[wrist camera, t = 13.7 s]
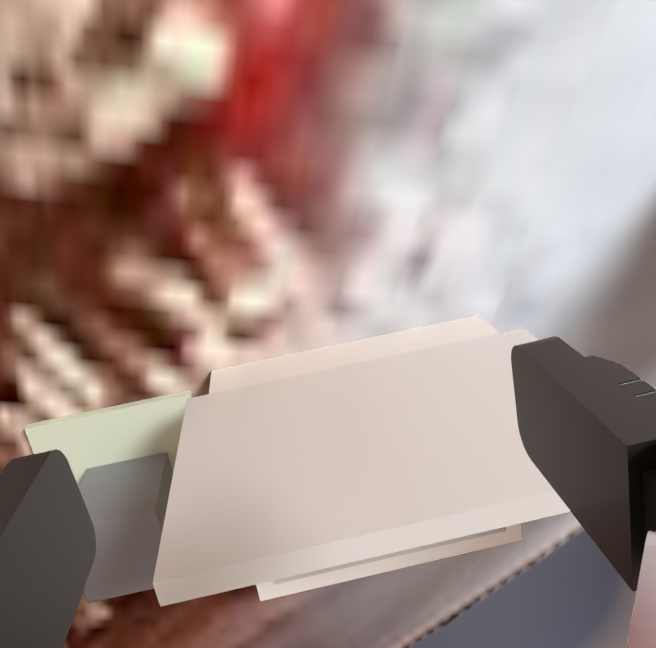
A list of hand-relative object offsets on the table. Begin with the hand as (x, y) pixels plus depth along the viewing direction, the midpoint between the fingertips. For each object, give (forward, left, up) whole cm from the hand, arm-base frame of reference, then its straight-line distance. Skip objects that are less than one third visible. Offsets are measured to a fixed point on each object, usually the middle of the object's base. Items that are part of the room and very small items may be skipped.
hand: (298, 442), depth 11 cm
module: (+11, +16, -26) cm, 32 cm away
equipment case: (-4, +16, -26) cm, 31 cm away
